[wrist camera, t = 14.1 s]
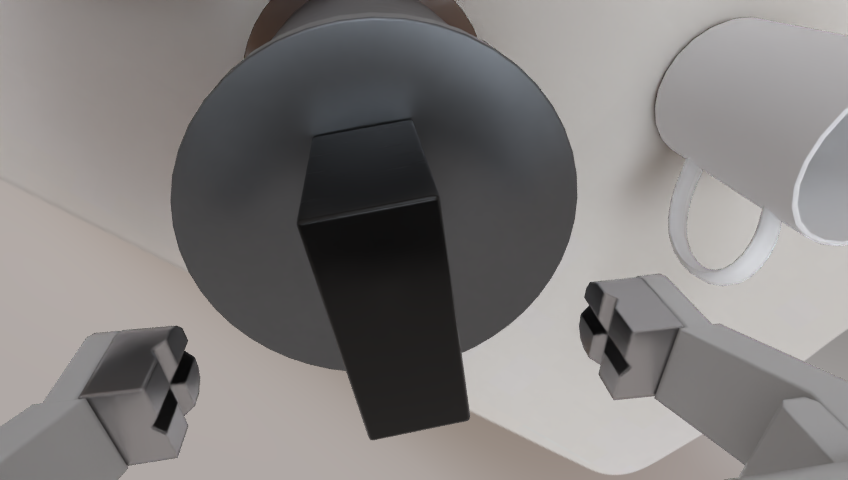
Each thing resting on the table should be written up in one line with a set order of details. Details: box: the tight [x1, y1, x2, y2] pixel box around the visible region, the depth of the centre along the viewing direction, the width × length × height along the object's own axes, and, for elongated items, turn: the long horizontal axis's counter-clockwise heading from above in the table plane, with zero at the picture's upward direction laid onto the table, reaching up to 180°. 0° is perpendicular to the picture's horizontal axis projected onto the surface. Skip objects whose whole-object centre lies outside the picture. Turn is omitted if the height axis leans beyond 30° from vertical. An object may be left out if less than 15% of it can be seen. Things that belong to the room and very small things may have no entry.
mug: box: [655, 17, 848, 286], centre depth 24 cm, size 12×8×10 cm, turn 147°
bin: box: [171, 0, 577, 440], centre depth 16 cm, size 11×11×17 cm
